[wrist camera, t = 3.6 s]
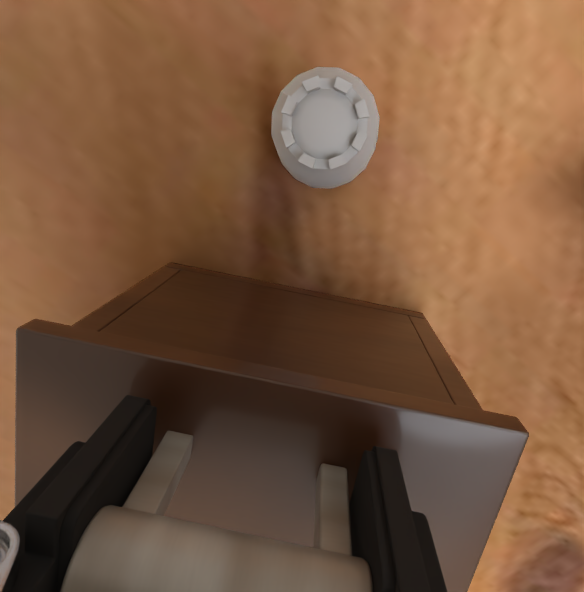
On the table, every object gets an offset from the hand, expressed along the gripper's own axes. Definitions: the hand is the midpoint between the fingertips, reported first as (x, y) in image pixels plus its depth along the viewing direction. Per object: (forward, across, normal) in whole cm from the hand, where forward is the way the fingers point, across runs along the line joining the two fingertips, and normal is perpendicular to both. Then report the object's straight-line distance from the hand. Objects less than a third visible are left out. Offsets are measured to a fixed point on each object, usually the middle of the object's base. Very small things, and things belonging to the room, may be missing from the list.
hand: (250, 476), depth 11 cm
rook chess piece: (+13, 0, -8) cm, 15 cm away
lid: (+1, 0, +6) cm, 6 cm away
